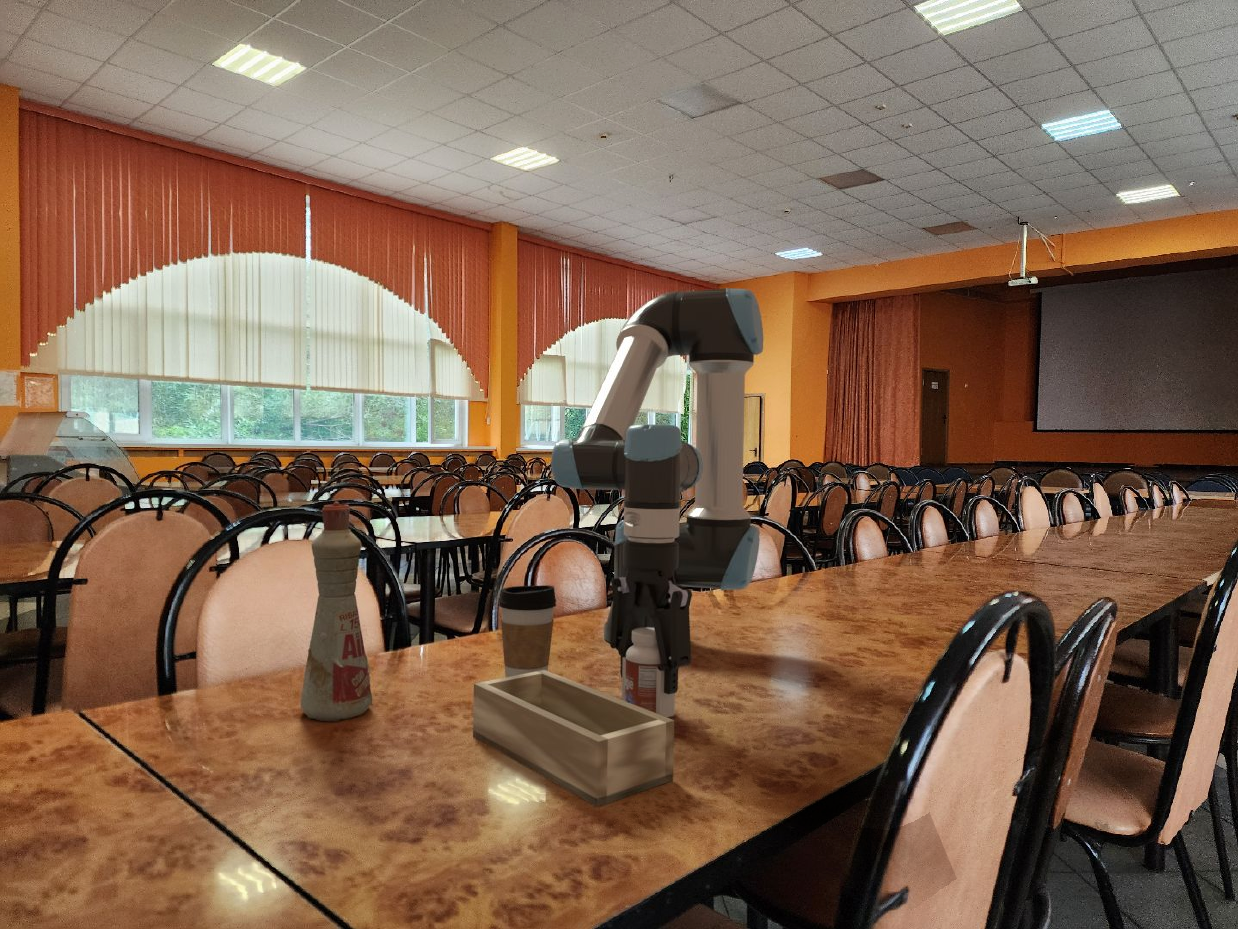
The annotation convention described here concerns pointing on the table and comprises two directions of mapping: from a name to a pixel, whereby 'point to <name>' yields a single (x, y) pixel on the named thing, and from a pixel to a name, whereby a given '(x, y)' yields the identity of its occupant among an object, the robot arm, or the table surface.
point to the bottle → (336, 627)
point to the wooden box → (575, 735)
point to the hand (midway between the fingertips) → (647, 709)
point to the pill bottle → (642, 669)
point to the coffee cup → (526, 627)
